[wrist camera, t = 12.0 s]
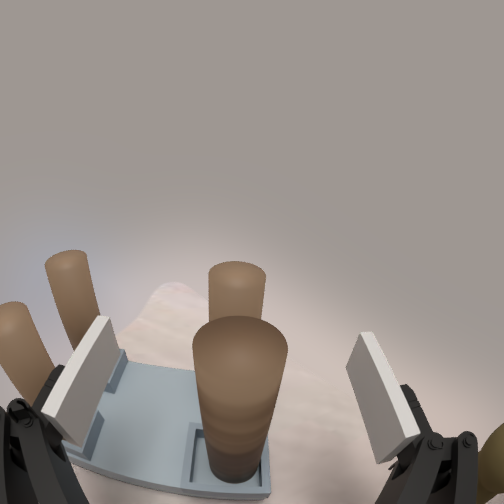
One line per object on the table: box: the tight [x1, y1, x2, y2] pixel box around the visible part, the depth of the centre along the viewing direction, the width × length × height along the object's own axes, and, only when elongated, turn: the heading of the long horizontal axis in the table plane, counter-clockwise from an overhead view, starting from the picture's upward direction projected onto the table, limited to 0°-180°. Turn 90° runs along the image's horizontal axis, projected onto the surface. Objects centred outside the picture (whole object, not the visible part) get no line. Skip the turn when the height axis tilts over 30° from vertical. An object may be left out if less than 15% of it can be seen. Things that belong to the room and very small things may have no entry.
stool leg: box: [192, 316, 288, 484], centre depth 11 cm, size 3×3×12 cm
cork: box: [476, 423, 504, 504], centre depth 7 cm, size 6×6×11 cm
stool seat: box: [0, 250, 271, 500], centre depth 14 cm, size 11×16×14 cm
